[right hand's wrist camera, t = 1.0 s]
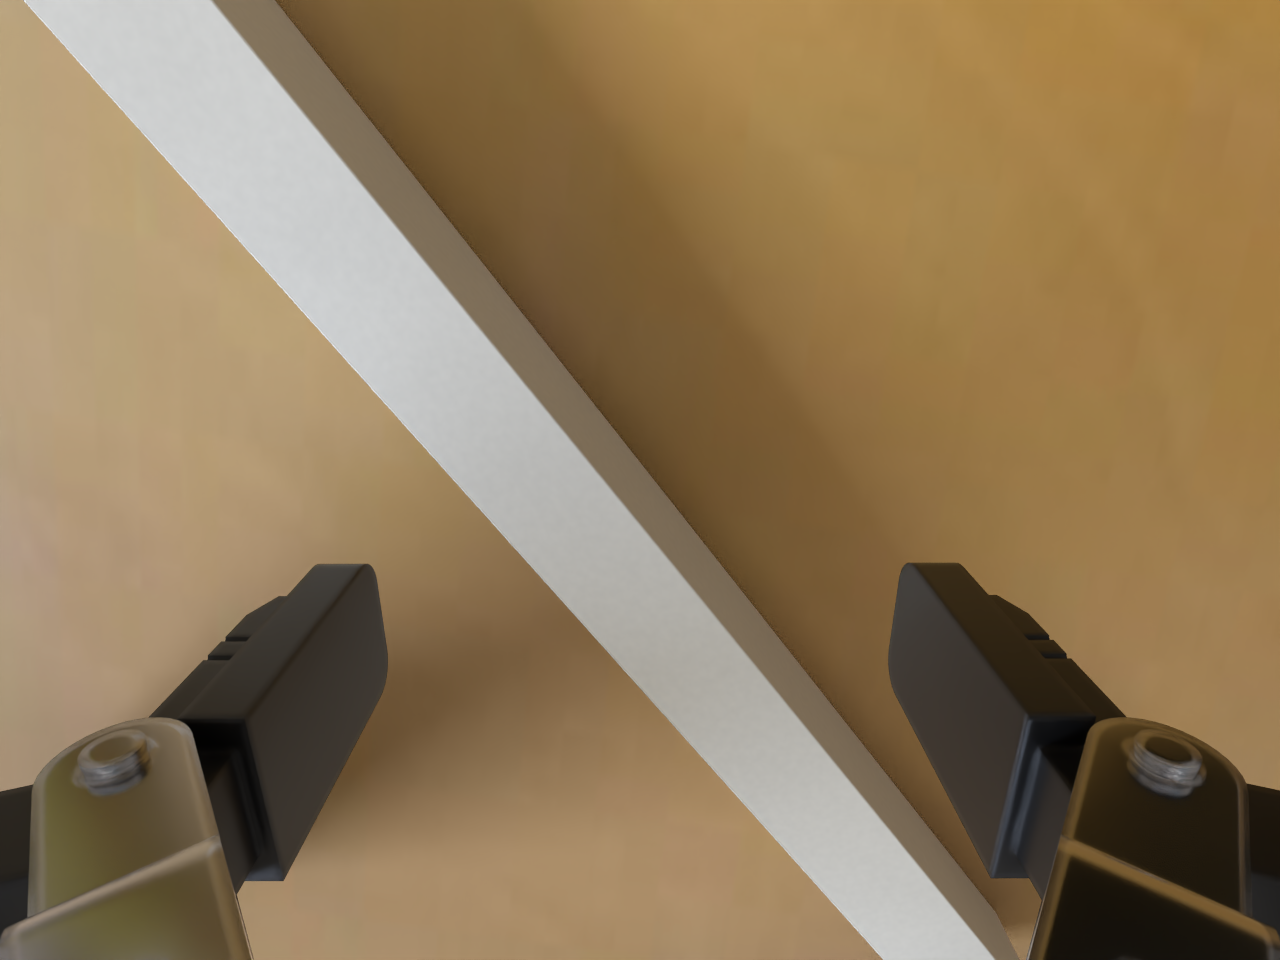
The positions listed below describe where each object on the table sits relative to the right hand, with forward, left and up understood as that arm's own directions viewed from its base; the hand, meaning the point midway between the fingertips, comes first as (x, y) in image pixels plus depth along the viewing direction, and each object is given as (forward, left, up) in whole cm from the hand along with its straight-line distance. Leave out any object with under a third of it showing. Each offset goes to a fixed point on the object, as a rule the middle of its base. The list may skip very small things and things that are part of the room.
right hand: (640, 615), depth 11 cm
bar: (-2, -10, -20) cm, 22 cm away
